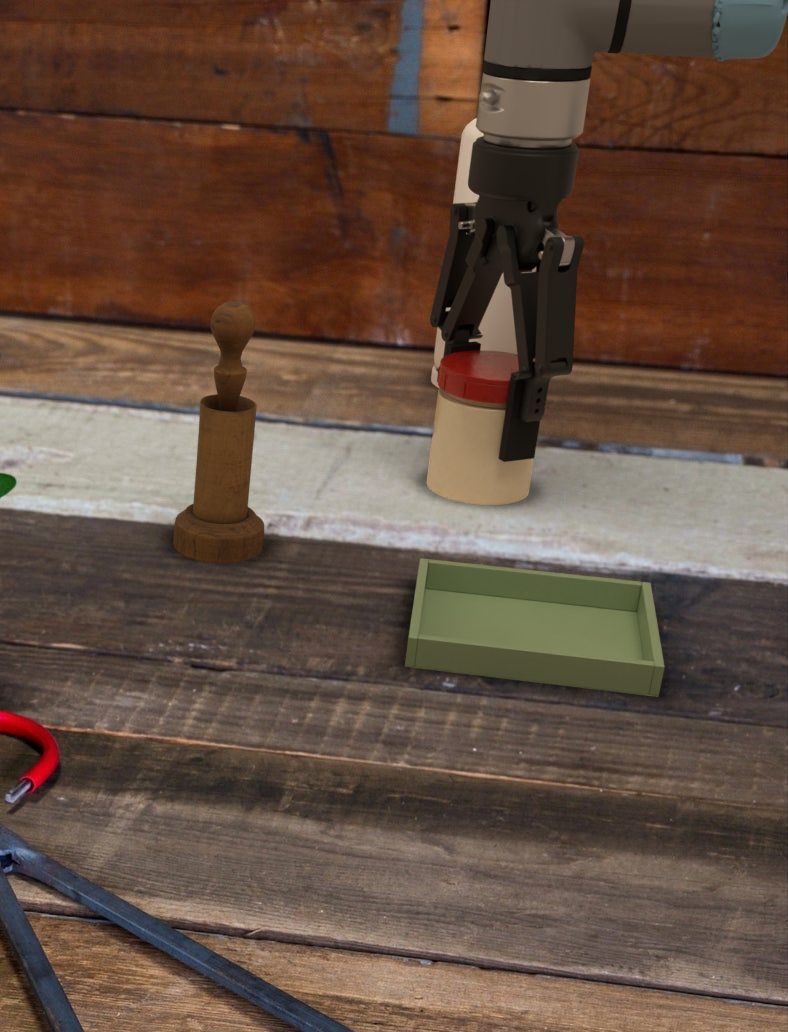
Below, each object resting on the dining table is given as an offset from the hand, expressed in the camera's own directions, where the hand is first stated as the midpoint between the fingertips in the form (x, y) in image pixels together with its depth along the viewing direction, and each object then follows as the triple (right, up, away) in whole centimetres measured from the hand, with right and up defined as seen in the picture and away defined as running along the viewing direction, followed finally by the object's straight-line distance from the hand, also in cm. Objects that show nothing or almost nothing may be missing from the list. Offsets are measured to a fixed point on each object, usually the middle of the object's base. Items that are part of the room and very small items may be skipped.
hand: (484, 440), depth 132 cm
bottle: (+6, +9, +27) cm, 29 cm away
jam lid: (0, +5, -3) cm, 6 cm away
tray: (-3, -17, -23) cm, 29 cm away
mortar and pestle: (-22, -10, -10) cm, 26 cm away
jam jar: (0, -4, +2) cm, 4 cm away
